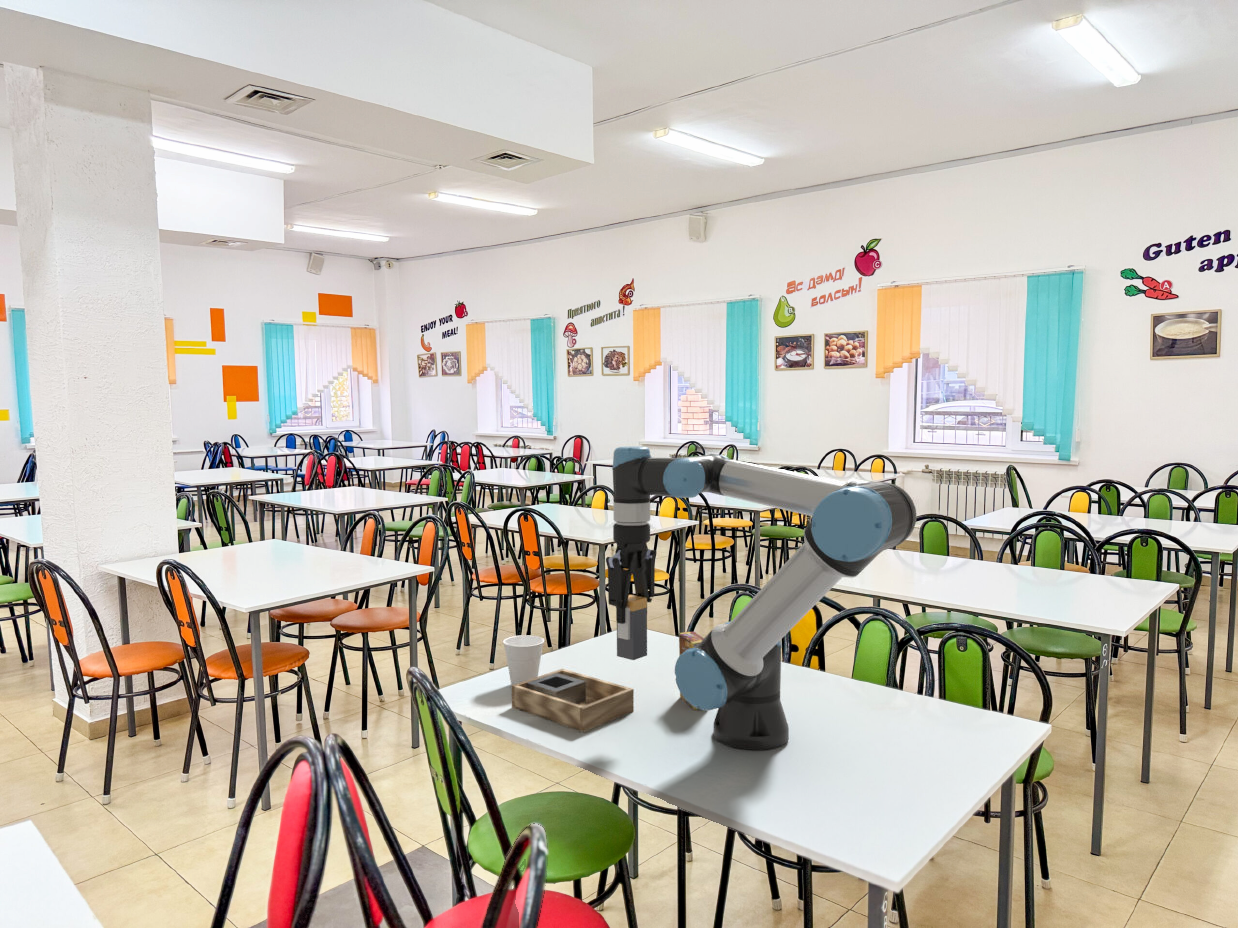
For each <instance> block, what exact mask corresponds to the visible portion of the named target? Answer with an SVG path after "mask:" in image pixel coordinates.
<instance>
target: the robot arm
mask: <svg viewBox="0 0 1238 928" xmlns="http://www.w3.org/2000/svg"><path fill="white" fill-rule="evenodd" d="M611 470H612V482H613V483H612V485H613V487H612V488H613V489H612V490H613V497H612V498H613V499H612V500H613V521H614V522H615V523H613V526H612V530H613V531H612V533H613V534H612V535H613V537H612V539H613V542H615V544H616V548H615V551H614V552H615V553H614V554H613V555H612V556H607V557H606V558H605V562H606V566H607V590H608V592H607V593H608V594H607V595H608V596H607V597H608V602H607V603H608V605H610V606H612V607H615V608H616V610H615V614H616V615H615V617H616V620H615V621H616V624H617V623H618V638H622V639H626V640H629V639H630V607H627V603H628V596H629V595H630V588H631V581H632V577H633V583H634V591H635V596H640V597H645V598H647V603H651V602H652V601H653V598H654V597H655V582H656V581H655V580H656V578H655V577H656V576H655V575H656V574H655V572H656V571H655V570H656V569H655V567H656V566H655V562H656V557H657V550H655V549H649V547H648V545H647V543H649V542H650V540H651V524H650V523H648V522H650V521H651V496H661V497H671V498H676V499H683V498H684V499H685V498H686V499H687V498H688V499H689V498H690V499H691V498H692V499H693V498H696V497H697V496H698V495H699V494H701V493H710V494H714V495H719V496H723V497H729V498H733V499H737V500H741V501H746V502H751V503H755V504H759V505H762V506H766V507H772V508H776V509H781V510H784V511H788V512H793V513H797V514H801V515H805V516H810V517H811V521H810V523H809V524H808V525H807V526H806V527H805V528H804V530H803V537H804V538H803V539H804V543H802V544H801V546H800V547H799V548H798V549H797V550H796V551H795V552H794V553H793V554H792V556H791V557H790V558H789V559H788V560H787V561H786V562H785V563H784V564H783V565H782V566H781V567H780V568H779V570H777V571H776V573H775V574H774V575H773V576H771V578H770V579H769V580H768V581H767V583H766V584H764V585H763V587H762V588H760V590H759V591H758V592H757V593H756V594H755V595H754V597H752V599H750V601H748V603H747V604H746V605H745V606H744V607H743V608H742V609H741V610H740V611H739V612H738V614H737V615H736V616H734V618H733V619H732V620H731V621H727V622H725V623H720V624H719V623H718V624H716V626H715V627H713V628H712V629H711V630H710V632H708V634H707V635H706V636H705V637H703V638H704V639H703V640H702V641H701V642H700V643H699V644H698V645H697V646H696V647H694V648H689V649H688V650H686V651H685V652H683V653H682V654H681V655H680V656H678V658H677V660H676V662H675V665H674V675H675V683H676V686H677V689H678V690H679V694H680V693H681V694H682V696H683V697H684V698H685V700H686V701H687V702H688V703H690V704H691V705H692V706H694V707H695V708H698V709H699V710H702V711H713V710H715V709H717V710H716V715H715V718H714V721H713V737H714V738H715V739H716V740H717V742H720V743H721V744H724V745H727V746H729V747H733V748H737V749H743V750H753V751H759V750H762V751H763V750H769V749H770V750H771V749H776V748H779V747H782V746H783V745H785V744H786V743H787V742H788V740H789V738H790V737H789V736H790V735H789V732H790V730H789V729H790V728H789V724H788V722H787V721H788V720H787V718H786V714H785V712H784V707H783V703H782V701H781V684H782V683H781V680H782V679H781V678H782V677H781V674H782V673H781V672H782V669H781V668H782V665H781V664H782V648H783V645H782V639H783V638H784V637H785V636H786V635H787V634H788V633H789V632H790V631H791V630H792V629H793V628H794V627H795V626H796V625H797V624H798V623H799V622H800V621H801V620H802V619H803V618H804V617H805V616H806V615H807V614H808V613H809V612H810V611H811V610H812V609H813V608H814V606H816V604H818V603H819V602H820V601H821V600H822V599H823V598H824V596H825V595H826V594H827V593H828V592H830V590H832V588H833V587H835V585H836V584H837V583H838V582H840V580H842V579H843V578H850V579H851V578H852V579H853V578H856V577H858V576H859V574H860V573H861V572H863V570H865V569H866V567H868V566H869V565H870V564H871V563H872V562H873V560H875V559H876V558H877V557H878V556H879V555H880V554H881V553H882V552H883V551H887V550H889V549H892V548H895V547H896V546H900V545H902V544H903V543H904V542H905V541H907V539H908V538H910V536H911V535H912V534H913V531H914V529H915V526H916V524H917V509H916V506H915V503H914V501H913V499H912V498H911V496H910V495H909V493H908V492H906V490H904V489H903V488H901V487H900V486H898V485H897V484H894V483H890V482H886V481H873V480H864V479H859V478H853V477H852V478H851V479H849V480H847V481H840V480H836V479H831V478H826V477H820V476H816V475H811V474H805V473H802V472H801V473H800V472H796V471H795V472H794V471H790V470H786V469H785V470H784V469H781V468H777V467H776V468H775V467H770V466H766V465H760V464H754V463H749V462H745V461H740V460H735V459H730V458H729V457H727V456H726V455H724V454H716V453H710V454H706V455H705V454H704V455H696V456H685V457H652V456H651V451H650V448H649V447H648V446H619V447H616V448H615V449H614V451H613V459H612V468H611ZM621 600H622V601H621ZM687 702H686V703H687ZM688 703H687V704H688Z"/></svg>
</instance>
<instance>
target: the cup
mask: <svg viewBox="0 0 1238 928" xmlns="http://www.w3.org/2000/svg"><path fill="white" fill-rule="evenodd" d="M544 643H545V638H543V637H541V636H538V635H533V634H532V635H527V634H524V635H523V634H521V635H514V636H510V637H506V638H505V639H503V641H502V644H503V645H504V652H505V658H506V661H507V666H508V667H507V668H508V674H509V680H510V685H511V686H512V685H515V684H518V683H521V682H524V681H527V680H530V679H533V678H536V677H539V673H540V664H541V659H542V654H543V646H544Z"/></svg>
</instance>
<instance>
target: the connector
mask: <svg viewBox="0 0 1238 928" xmlns="http://www.w3.org/2000/svg"><path fill="white" fill-rule="evenodd" d="M621 601H622V600H621ZM627 607H630V639H629V640H626V639H622V638H618V623H617V622H616V657H618V658H623V659H626V660H631V661H635V660H638V659H641V658H643V657H646V656H648V602H647V598H645V597H640V596H636V595H634V594H629V596H628V603H627Z"/></svg>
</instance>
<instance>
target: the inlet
mask: <svg viewBox="0 0 1238 928" xmlns="http://www.w3.org/2000/svg"><path fill="white" fill-rule="evenodd" d="M527 689H531V690H534V691H537V692H540V693H543V694H546V695H549V696H553V697H556V698H559V699H562V700H565V701H568V702H571V703H575V704H579V703H582V702H584V701H586V681H583V680H579V679H576V678H573V677H569V676H566V675H562V674H559V673H554V674H551V675H548V676H545V677H542V678H539V679H536V680H533V681H530V682H527Z"/></svg>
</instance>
